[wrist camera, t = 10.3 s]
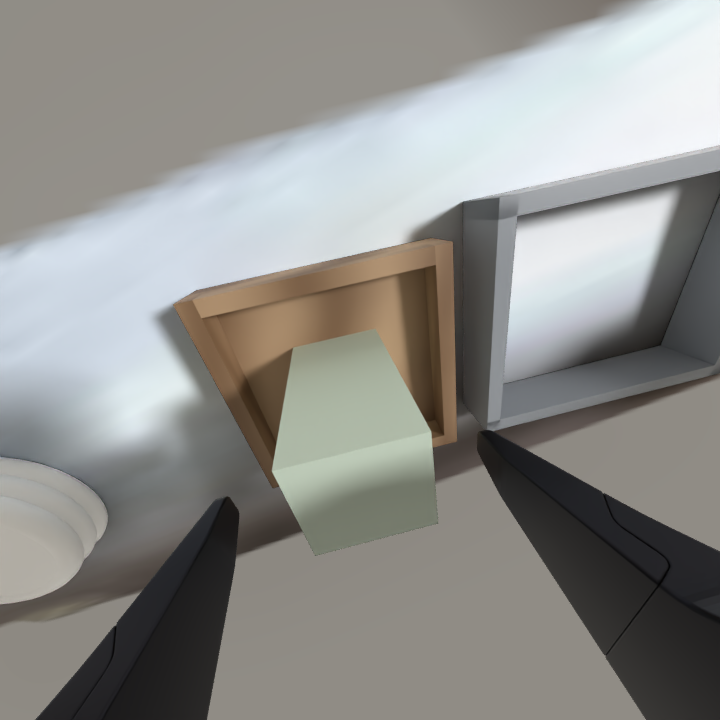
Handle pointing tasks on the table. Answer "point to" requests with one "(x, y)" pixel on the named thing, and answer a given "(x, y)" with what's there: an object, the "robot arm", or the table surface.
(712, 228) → the grey bin
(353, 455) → the sage block
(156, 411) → the table surface
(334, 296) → the wooden tray
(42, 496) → the white round short cylinder
